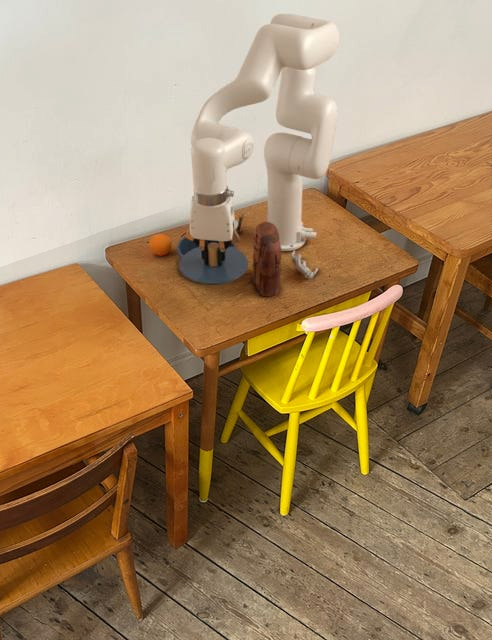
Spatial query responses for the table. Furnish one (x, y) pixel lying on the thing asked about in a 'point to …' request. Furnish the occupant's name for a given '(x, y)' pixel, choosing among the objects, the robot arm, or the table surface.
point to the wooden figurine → (267, 259)
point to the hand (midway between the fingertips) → (213, 261)
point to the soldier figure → (303, 266)
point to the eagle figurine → (239, 223)
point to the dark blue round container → (190, 248)
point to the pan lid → (213, 265)
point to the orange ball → (160, 244)
